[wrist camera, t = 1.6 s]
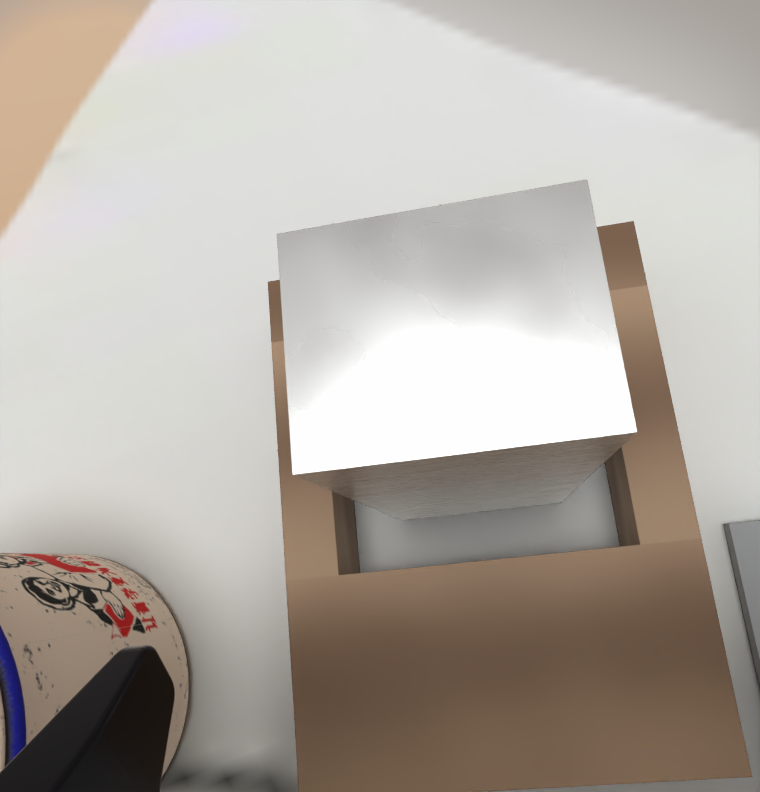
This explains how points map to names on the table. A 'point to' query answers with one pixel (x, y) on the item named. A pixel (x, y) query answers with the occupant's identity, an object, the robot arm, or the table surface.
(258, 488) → the table surface
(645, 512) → the brown wooden rectangular frame
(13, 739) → the teacup with lid
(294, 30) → the table surface
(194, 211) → the table surface
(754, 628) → the rubber mat
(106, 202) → the table surface
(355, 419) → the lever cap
